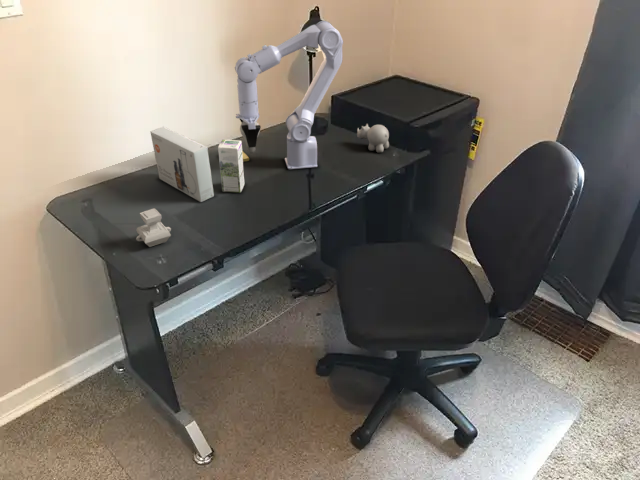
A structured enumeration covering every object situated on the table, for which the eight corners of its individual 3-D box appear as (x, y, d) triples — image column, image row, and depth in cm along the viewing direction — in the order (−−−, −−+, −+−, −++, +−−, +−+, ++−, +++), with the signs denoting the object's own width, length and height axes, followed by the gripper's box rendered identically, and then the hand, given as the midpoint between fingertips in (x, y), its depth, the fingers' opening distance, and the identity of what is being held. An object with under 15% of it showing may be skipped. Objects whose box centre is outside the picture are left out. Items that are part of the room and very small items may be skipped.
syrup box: (245, 184, 170) (241, 139, 163) (240, 193, 166) (237, 147, 158) (226, 183, 171) (222, 138, 163) (221, 192, 166) (217, 146, 158)
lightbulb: (245, 158, 174) (243, 124, 168) (238, 151, 178) (236, 117, 172) (264, 154, 176) (262, 121, 170) (257, 147, 181) (255, 114, 175)
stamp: (167, 230, 148) (162, 202, 144) (176, 242, 144) (172, 213, 139) (133, 240, 144) (127, 212, 139) (142, 253, 139) (136, 224, 135)
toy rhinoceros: (363, 139, 200) (364, 116, 195) (391, 148, 194) (393, 124, 189) (351, 146, 195) (352, 122, 190) (380, 155, 189) (382, 131, 184)
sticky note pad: (241, 151, 190) (240, 149, 189) (249, 160, 184) (249, 157, 184) (219, 156, 187) (219, 153, 187) (227, 165, 181) (226, 162, 181)
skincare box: (157, 179, 172) (149, 130, 164) (172, 174, 176) (165, 125, 167) (199, 203, 160) (193, 151, 152) (214, 196, 164) (209, 145, 155)
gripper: (232, 93, 173) (235, 134, 181) (236, 109, 161) (240, 153, 169) (255, 91, 174) (257, 133, 182) (261, 107, 162) (263, 151, 170)
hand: (250, 142), depth 175 cm, fingers closed on lightbulb, 6 cm apart
